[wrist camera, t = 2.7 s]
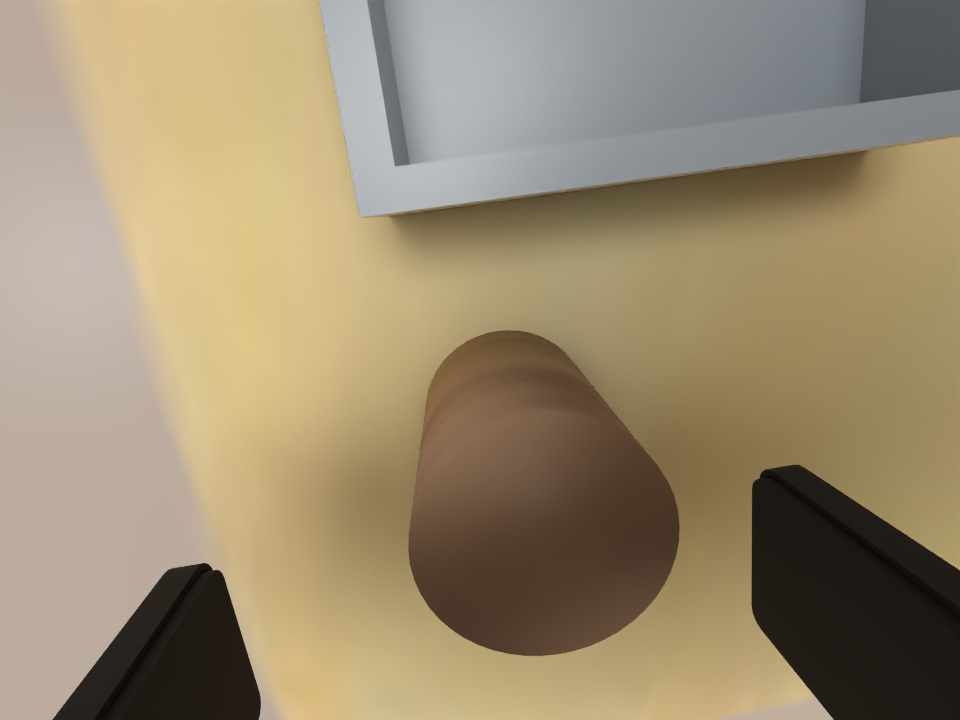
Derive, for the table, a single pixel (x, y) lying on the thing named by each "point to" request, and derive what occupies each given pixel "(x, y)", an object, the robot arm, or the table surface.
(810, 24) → the tote
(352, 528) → the table surface
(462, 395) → the walnut cylinder
